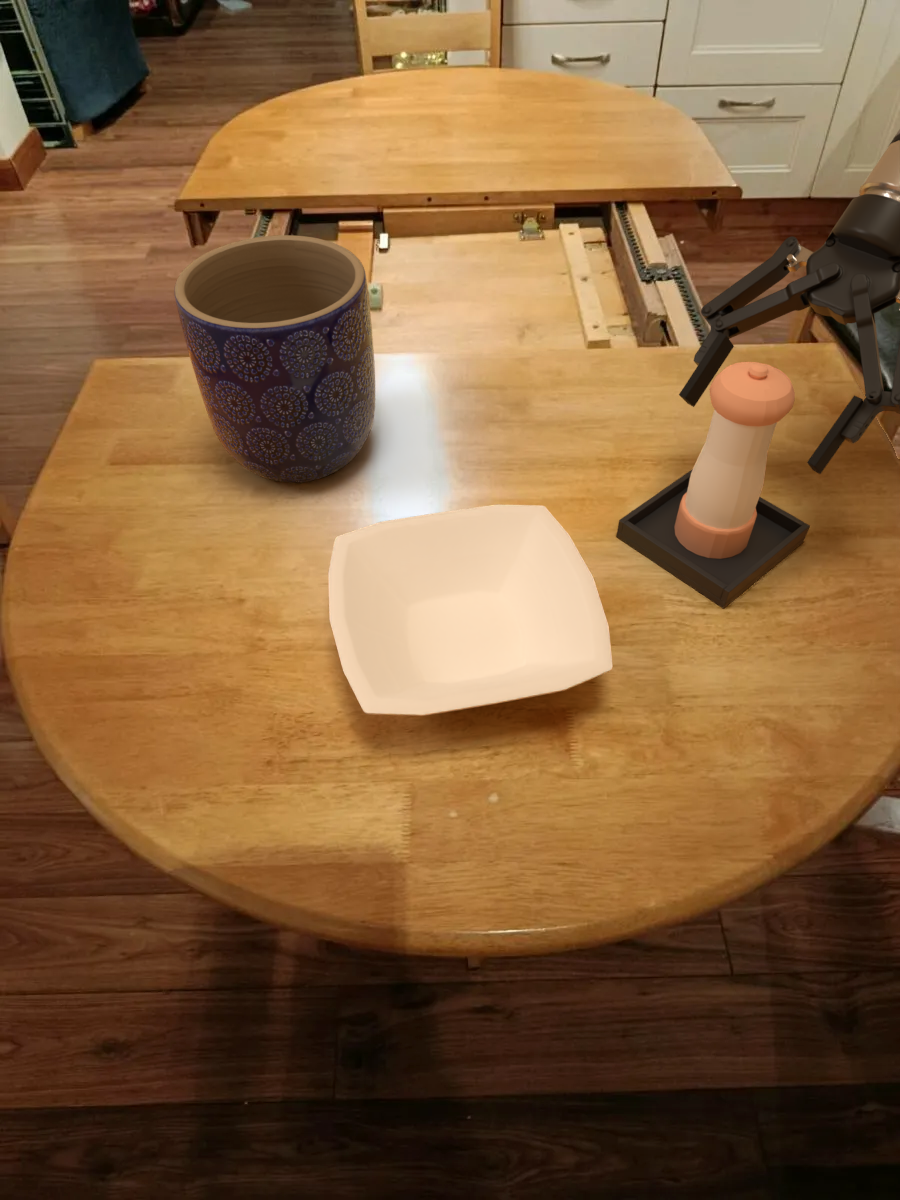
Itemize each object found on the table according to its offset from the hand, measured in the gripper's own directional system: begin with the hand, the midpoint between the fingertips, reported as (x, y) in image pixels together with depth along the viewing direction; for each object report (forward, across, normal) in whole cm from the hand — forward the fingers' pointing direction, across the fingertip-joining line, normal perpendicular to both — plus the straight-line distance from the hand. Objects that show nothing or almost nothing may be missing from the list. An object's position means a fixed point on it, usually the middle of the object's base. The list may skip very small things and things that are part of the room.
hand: (746, 433), depth 77 cm
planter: (+25, +40, +7) cm, 48 cm away
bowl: (+29, +7, +11) cm, 32 cm away
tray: (+10, 0, -8) cm, 13 cm away
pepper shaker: (+9, 0, -8) cm, 12 cm away
